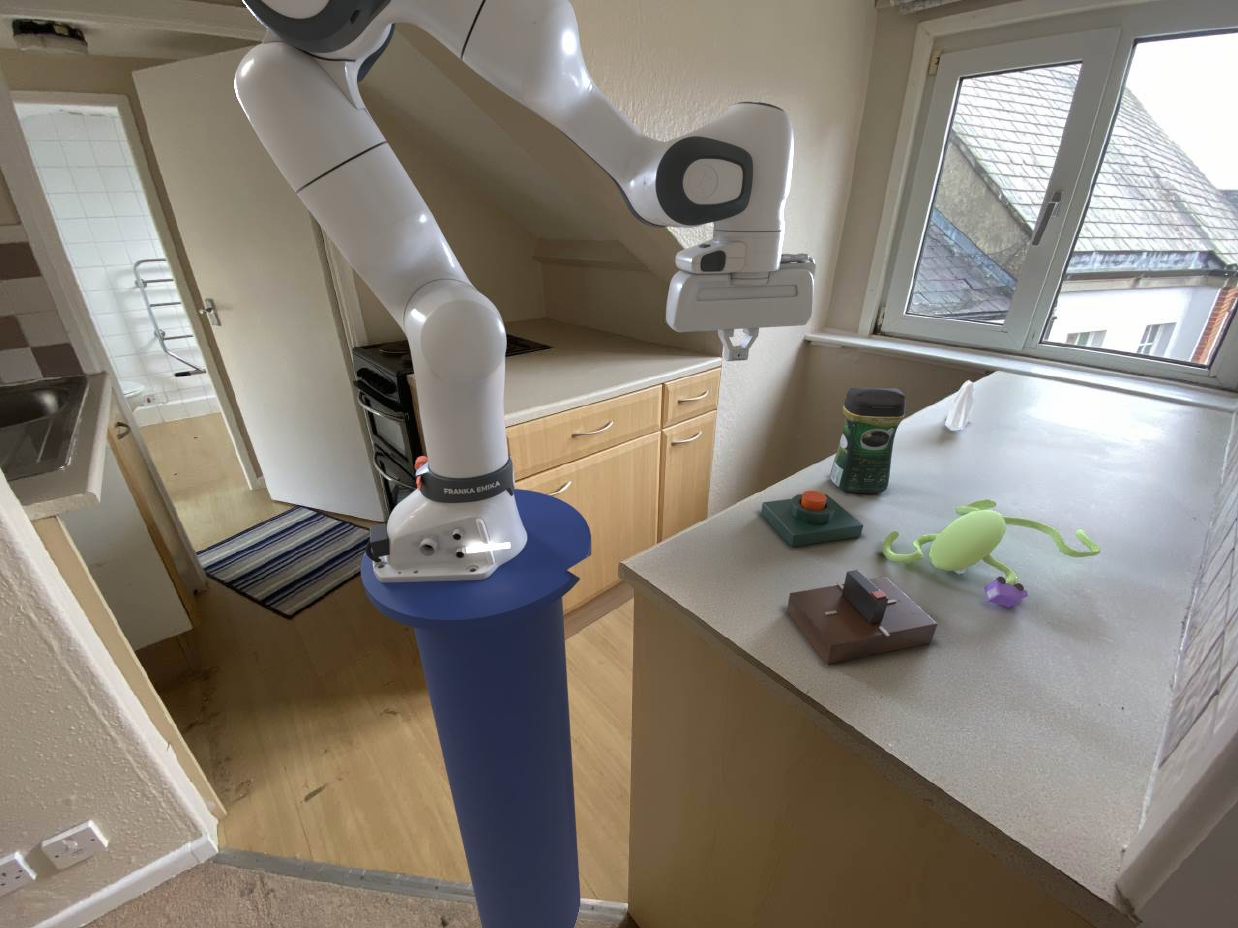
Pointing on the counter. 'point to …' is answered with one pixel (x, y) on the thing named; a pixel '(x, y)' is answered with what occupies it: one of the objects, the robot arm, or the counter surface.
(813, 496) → the button
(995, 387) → the counter surface
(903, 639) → the knob panel
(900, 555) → the figurine
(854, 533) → the button box
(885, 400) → the coffee jar
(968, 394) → the white folded napkin
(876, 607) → the dark block
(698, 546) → the counter surface
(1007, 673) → the counter surface
